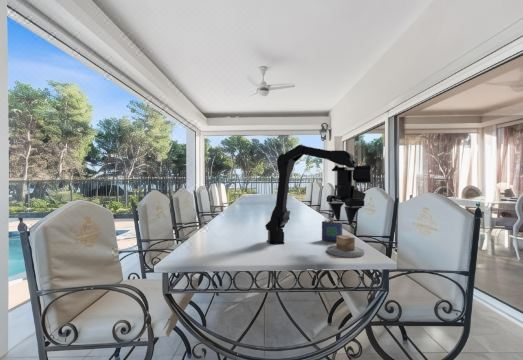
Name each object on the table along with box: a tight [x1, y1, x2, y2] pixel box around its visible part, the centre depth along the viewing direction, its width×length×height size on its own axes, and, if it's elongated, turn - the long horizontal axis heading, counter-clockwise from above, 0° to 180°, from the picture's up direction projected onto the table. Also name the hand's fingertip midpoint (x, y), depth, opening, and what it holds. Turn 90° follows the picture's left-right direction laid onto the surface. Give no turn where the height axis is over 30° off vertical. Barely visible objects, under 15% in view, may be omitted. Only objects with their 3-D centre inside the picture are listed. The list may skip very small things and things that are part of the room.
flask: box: [321, 217, 343, 243], centre depth 130 cm, size 9×3×11 cm, turn 74°
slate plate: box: [326, 244, 365, 259], centre depth 112 cm, size 14×14×1 cm
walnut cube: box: [335, 234, 356, 251], centre depth 112 cm, size 5×5×5 cm
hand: (344, 222), depth 112 cm, fingers open, 9 cm apart
